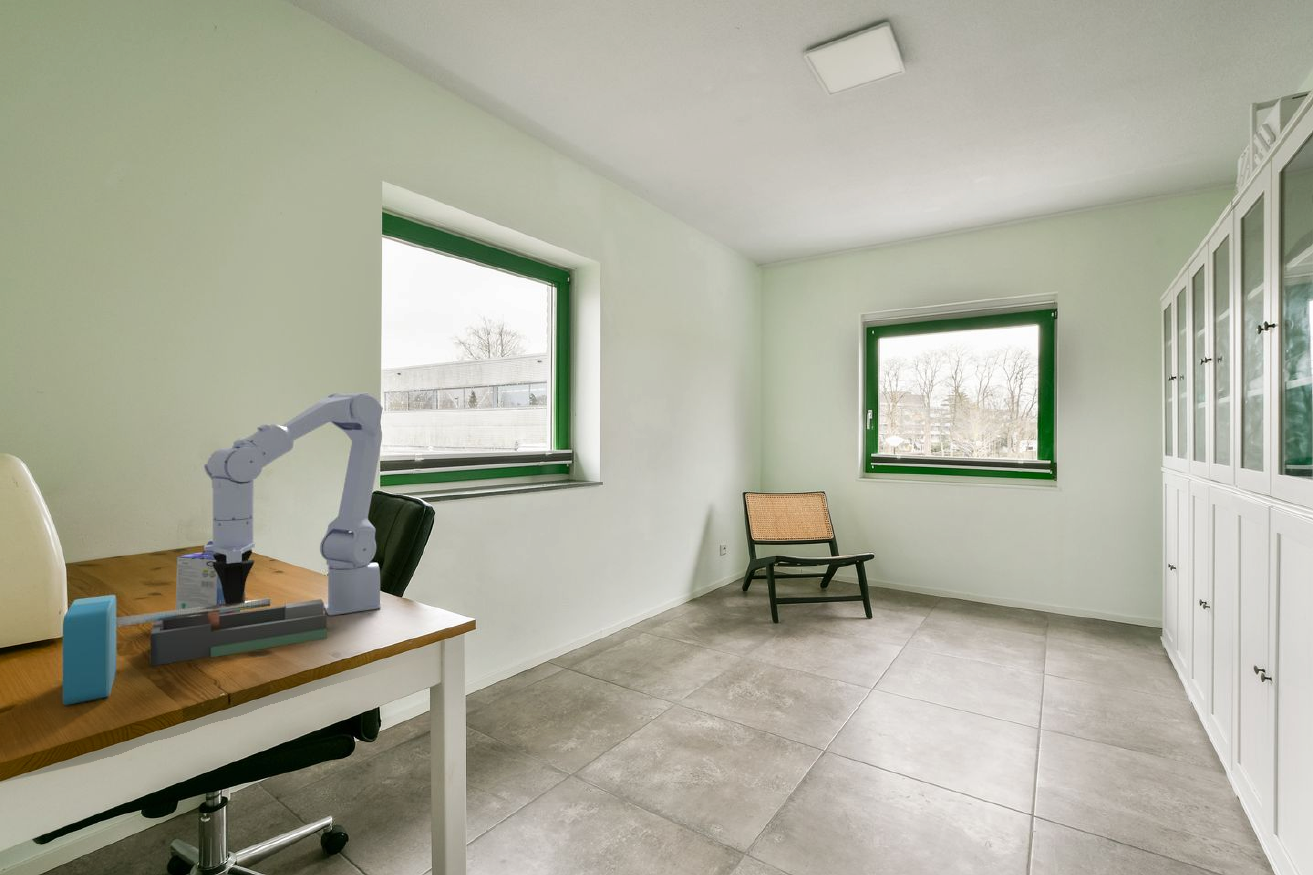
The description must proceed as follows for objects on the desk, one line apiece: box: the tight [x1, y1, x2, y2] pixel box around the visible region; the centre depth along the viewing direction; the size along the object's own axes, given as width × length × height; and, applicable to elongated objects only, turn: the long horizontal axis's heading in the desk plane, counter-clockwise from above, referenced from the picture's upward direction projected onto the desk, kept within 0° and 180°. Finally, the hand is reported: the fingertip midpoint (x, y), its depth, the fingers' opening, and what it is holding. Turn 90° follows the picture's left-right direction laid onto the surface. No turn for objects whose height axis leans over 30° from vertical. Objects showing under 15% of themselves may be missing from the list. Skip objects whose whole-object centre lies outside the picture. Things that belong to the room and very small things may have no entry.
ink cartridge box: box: [175, 540, 241, 615], centre depth 117 cm, size 10×6×14 cm, turn 79°
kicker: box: [116, 588, 271, 631], centre depth 101 cm, size 22×5×9 cm, turn 126°
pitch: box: [150, 598, 328, 667], centre depth 105 cm, size 24×12×5 cm, turn 126°
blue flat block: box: [62, 594, 117, 706], centre depth 85 cm, size 12×4×12 cm, turn 38°
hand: (233, 597), depth 104 cm, fingers open, 7 cm apart
